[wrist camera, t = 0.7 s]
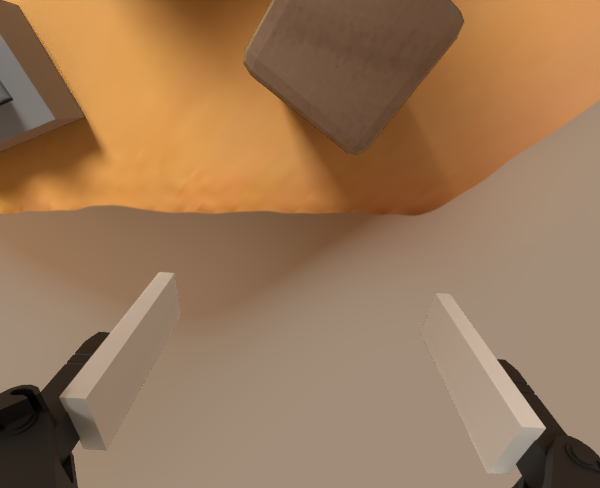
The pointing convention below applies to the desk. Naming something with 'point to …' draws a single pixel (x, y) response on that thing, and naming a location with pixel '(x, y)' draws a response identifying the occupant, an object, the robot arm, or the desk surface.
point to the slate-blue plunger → (4, 95)
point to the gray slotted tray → (29, 83)
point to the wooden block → (349, 59)
